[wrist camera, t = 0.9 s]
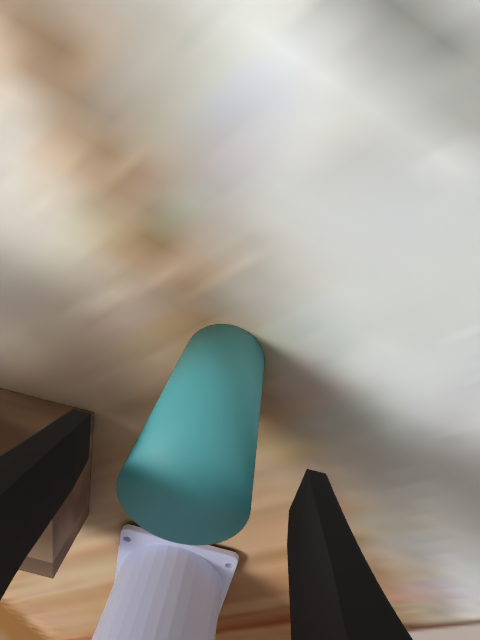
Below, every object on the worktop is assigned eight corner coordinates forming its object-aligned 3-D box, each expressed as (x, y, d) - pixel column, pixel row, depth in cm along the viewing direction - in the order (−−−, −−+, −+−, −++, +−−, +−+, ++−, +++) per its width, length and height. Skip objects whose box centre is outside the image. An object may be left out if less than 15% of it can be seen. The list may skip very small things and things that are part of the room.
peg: (253, 401, 18) (234, 558, 11) (179, 382, 18) (112, 526, 11) (273, 335, 17) (266, 470, 9) (192, 315, 17) (121, 433, 9)
